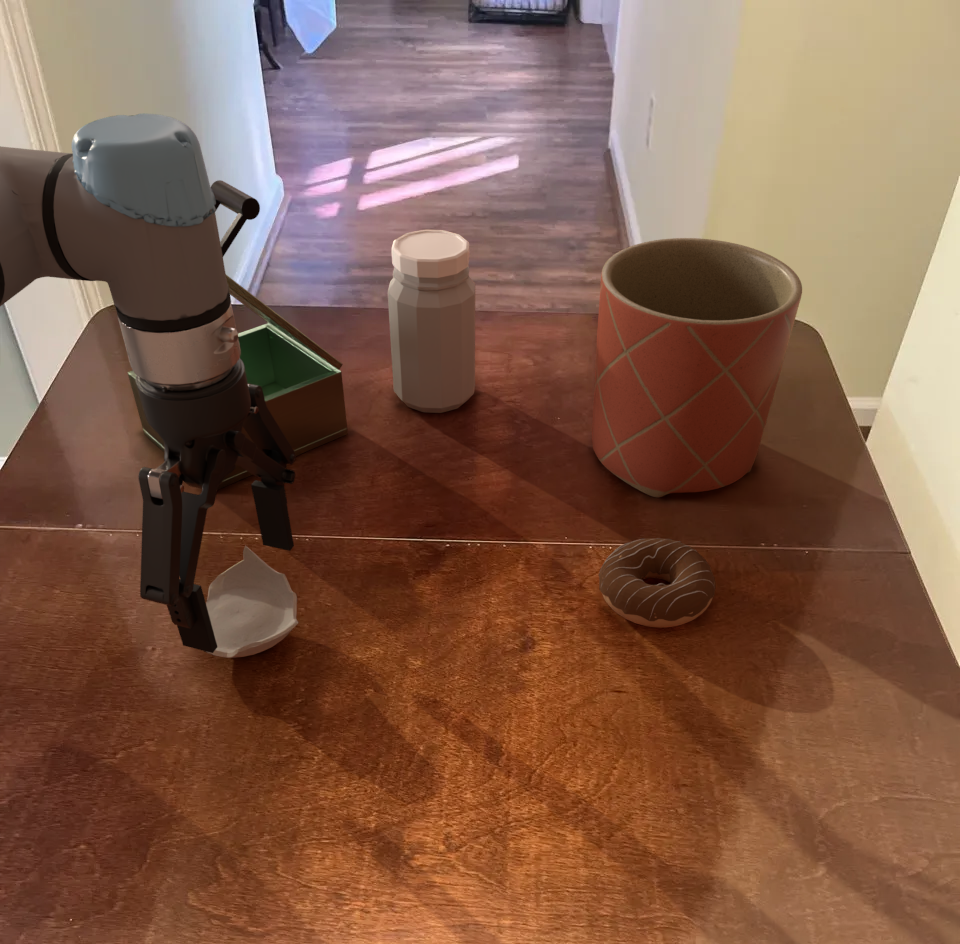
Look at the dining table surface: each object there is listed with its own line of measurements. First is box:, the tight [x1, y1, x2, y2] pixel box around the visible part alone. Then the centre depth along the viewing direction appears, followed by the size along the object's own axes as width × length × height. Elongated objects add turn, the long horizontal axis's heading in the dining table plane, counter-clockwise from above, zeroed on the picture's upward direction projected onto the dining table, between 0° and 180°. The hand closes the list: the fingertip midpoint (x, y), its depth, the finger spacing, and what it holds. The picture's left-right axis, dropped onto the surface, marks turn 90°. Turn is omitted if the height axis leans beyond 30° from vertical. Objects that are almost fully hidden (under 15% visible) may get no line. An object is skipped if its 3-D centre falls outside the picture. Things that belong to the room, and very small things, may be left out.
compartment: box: [127, 322, 348, 491], centre depth 108 cm, size 18×15×8 cm
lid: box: [210, 179, 343, 370], centre depth 101 cm, size 18×15×8 cm
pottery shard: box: [203, 544, 299, 659], centre depth 86 cm, size 10×11×5 cm
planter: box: [591, 237, 803, 498], centre depth 101 cm, size 19×19×20 cm
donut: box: [597, 537, 716, 629], centre depth 90 cm, size 11×11×4 cm
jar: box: [387, 229, 476, 414], centre depth 110 cm, size 10×10×18 cm
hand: (241, 593), depth 83 cm, fingers open, 13 cm apart
